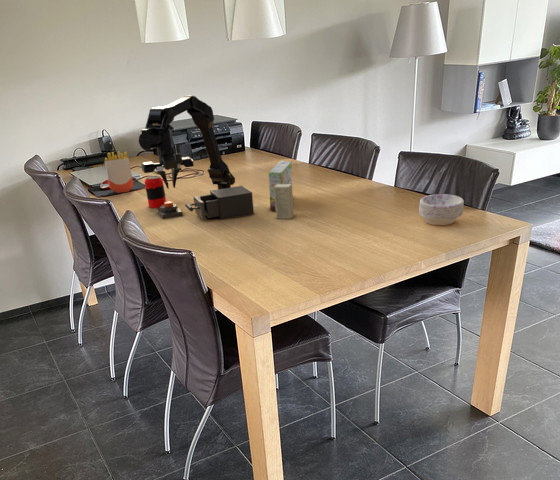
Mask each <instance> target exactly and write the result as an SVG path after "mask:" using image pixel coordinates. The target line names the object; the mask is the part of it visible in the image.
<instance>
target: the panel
mask: <svg viewBox="0 0 560 480" xmlns="http://www.w3.org/2000/svg"><path fill="white" fill-rule="evenodd" d="M157 213H158V214H159V216H160V217H161V218H162V220H165V219H171V218H176V217H177V218H178V217H182V216H183V212H182V210H181V209H180V208H179V207H178V204H176V203H173V206H172V207H164V205H162V206H161V208H157Z"/></svg>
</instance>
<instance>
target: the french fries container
mask: <svg viewBox="0 0 560 480" xmlns="http://www.w3.org/2000/svg"><path fill="white" fill-rule="evenodd" d="M123 153H124V154H123ZM123 153H121V151H117V155H115V152H107V157H104V165H105V166H104V167H105V171H106V179H107V184H108V188H109V189H111V190H112V191H113V192H115V193H116V194H123V193H127V192H130V191H131V190H132V188H133V187H134V179H133V174H132V169H131V162H130V159H129V156H128V152H127V151H124V152H123Z"/></svg>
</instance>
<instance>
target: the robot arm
mask: <svg viewBox="0 0 560 480" xmlns="http://www.w3.org/2000/svg"><path fill="white" fill-rule="evenodd" d="M185 112H186V113H187V114H188V115H189V116H190V117H191V119H192V121H193V123H194V125H195V126H196V127H197V128H198V130H199V131H200V134H201V136H202V140H203V143H204V146H205V151H206V153H207V156H208V159H209V163H210V165H209V168H207V173H208V176H209V179H210V180H211V183H212V185H217V190H218V189H224V188H231V187H232V186H233V185H234V184H235V183H236V177H235V176H234V175H233V174H232V172H231V171H230V169H229V165H228V164H227V163H226V162H225V161H224V160H223V158H222V156H221V151H220V148H219V145H218V142H217V138H216V135H215V134H216V133H215V132H214V127H213V125H214V121H215V117H214V110H213V108H212V107H211V106H210V105H208V103H206V102H204V101H203V100H201V99H199V98H198V97H197V96H196V95H183V96H182V97H181V98H179V99H176V100H175V101H173V102H170V103H169V104H167V105H162V106H155V107H150V109H149V112H148V116H147V119H146V123H145V127H144V128H143V129H141V130H140V131H141V133H140V135H138V145H139V146H140V148H141V149H142V150H144V151H149V150H153V149H156V151H157V156H158V162H156V163H154V162H153V161H145V162H142V163H141V166H140V167H141V171H142V172H143V173H144V174H149V173H154V172H155V173H156V174H159V175H160V178H161V179H162V180H163V184H165V185H164V186H166V189H167V190H169V189H170V187H169V182H168V178H167V175H166V174H167V173H166V171H169V170H170V171H171V182H172V187H173V188H174V189H175V188H176V183H177V178H178V175H179V172H180V171H182V170H183V169H182V166H183V167H185V168H191V167H194V166H195V165H194V160H193V158H191V157H190V156H182V153H181V152H180V153H175V151H174V147H173V140H172V134H171V131H173V130H174V128H175V127H173V126H172V125H171V124H172V122H174V120H175V117H176V116H179V115H181V114H182V113H185Z"/></svg>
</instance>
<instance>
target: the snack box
mask: <svg viewBox="0 0 560 480" xmlns="http://www.w3.org/2000/svg"><path fill="white" fill-rule="evenodd" d="M292 162H293V161H289V160H281V161H279V162H278V163H277V164H276V165H275V166H274V167H272V169H271V170H270V171H269V172H268V185H269V187H268V188H269V211H275V212H276V209H275V197H274V186H275V185H277V184H292V185H293V163H292Z"/></svg>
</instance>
